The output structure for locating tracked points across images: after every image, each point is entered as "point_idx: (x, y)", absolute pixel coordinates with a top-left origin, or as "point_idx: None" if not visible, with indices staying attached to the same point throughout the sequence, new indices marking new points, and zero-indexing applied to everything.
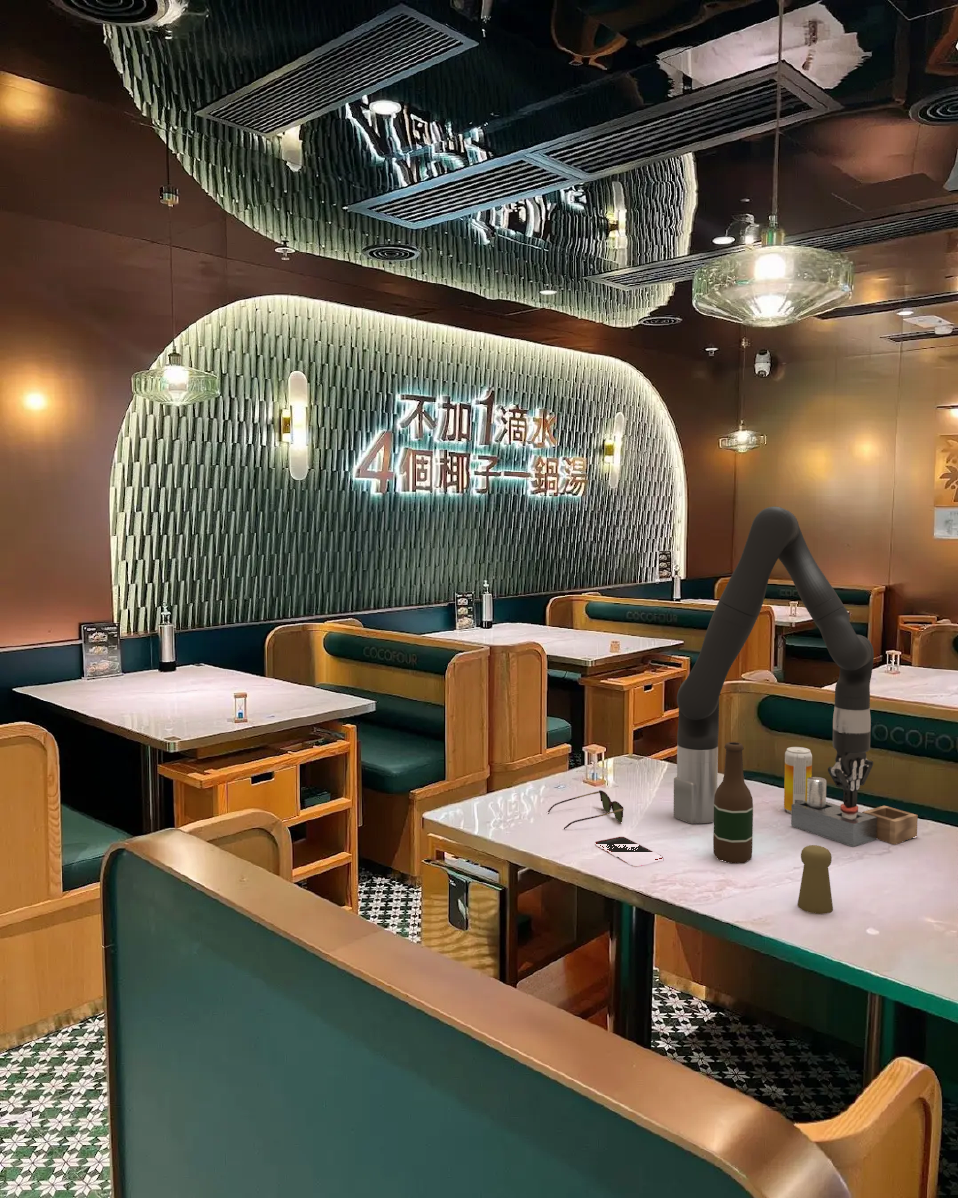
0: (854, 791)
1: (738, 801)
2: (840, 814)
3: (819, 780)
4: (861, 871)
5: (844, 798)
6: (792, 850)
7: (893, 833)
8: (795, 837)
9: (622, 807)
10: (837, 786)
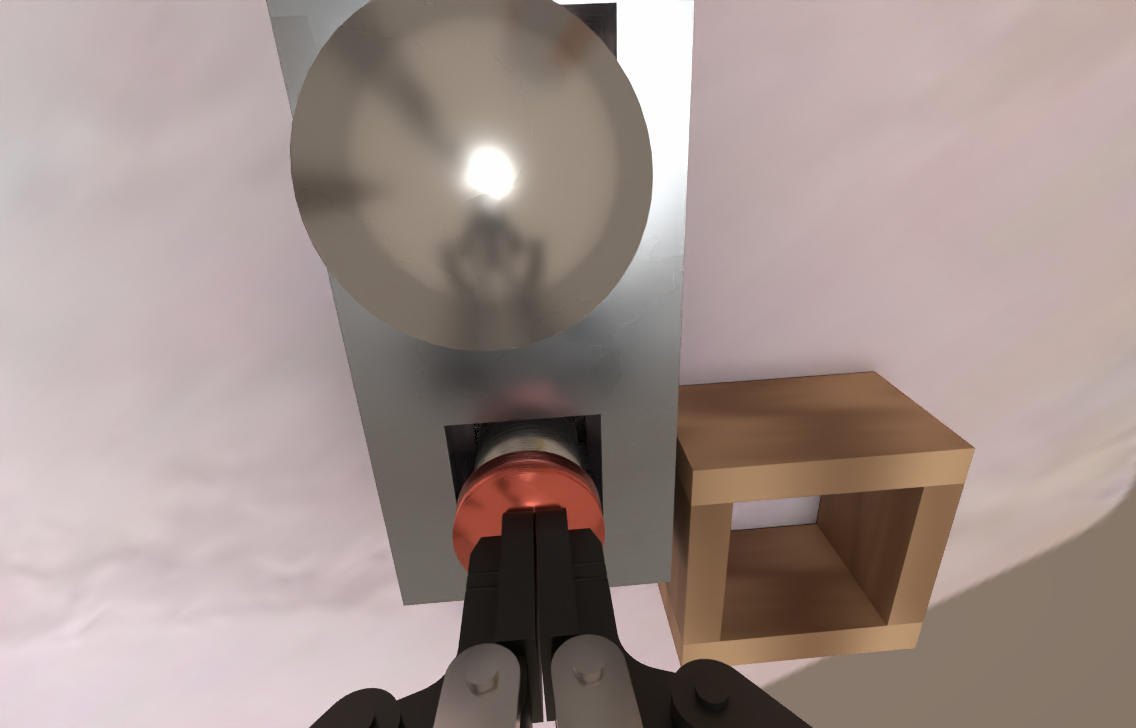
0: (537, 716)
1: None
2: (515, 414)
3: (469, 262)
4: (227, 688)
5: (470, 590)
6: (27, 383)
7: (665, 599)
8: (199, 219)
9: None
10: (336, 716)
